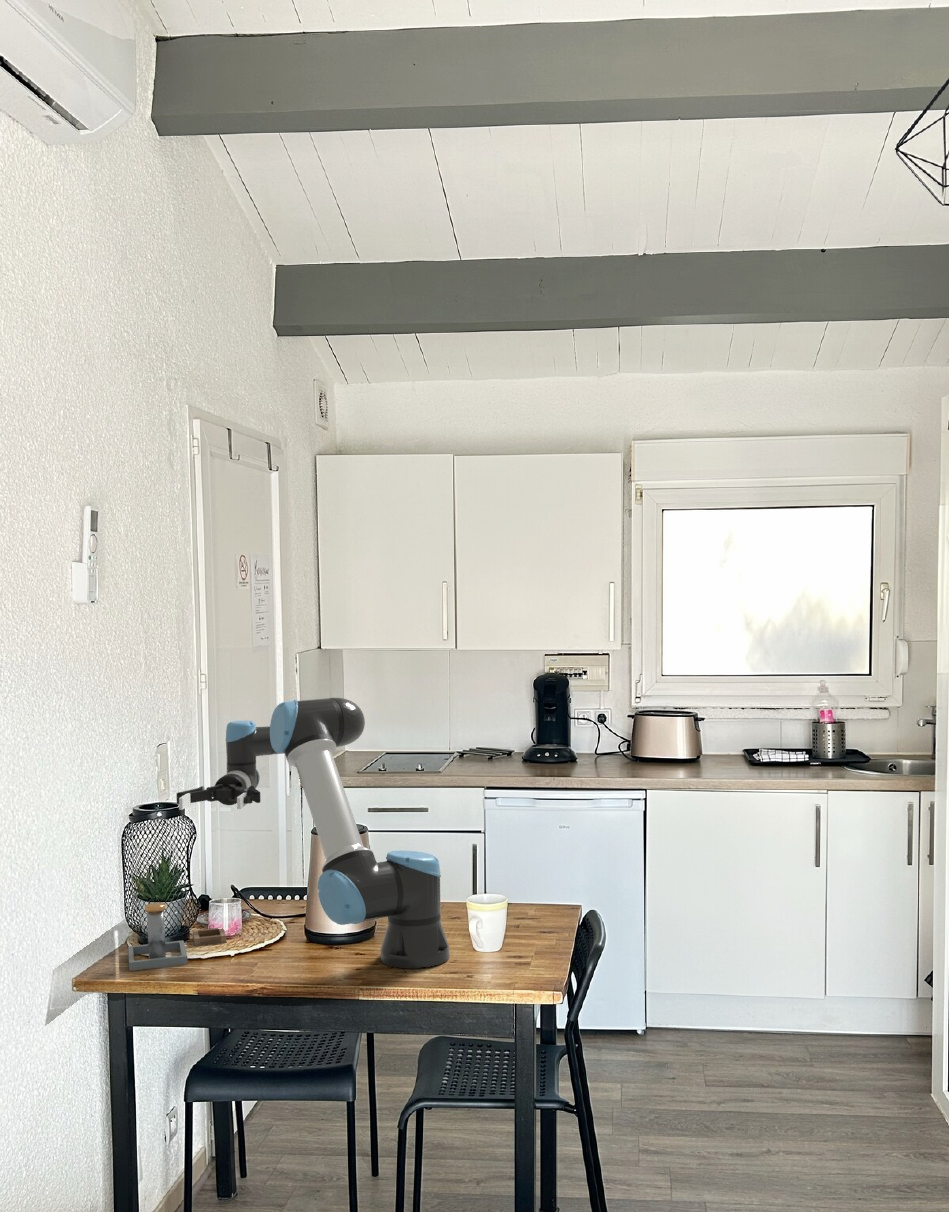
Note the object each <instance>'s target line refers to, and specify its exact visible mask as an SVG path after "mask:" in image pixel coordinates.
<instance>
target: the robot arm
mask: <svg viewBox="0 0 949 1212" xmlns="http://www.w3.org/2000/svg"><path fill="white" fill-rule="evenodd" d="M365 722H366V721H365V715H364V713H363V711H362V709H361V708H360V706H359V705H357V704H356V703H355V702H354V701H352V700H349V699H347V698H343V697H329V698H317V699H304V700H297V699H293V700H289V701H283V702H280V703H278V705H276V706H275V708H274V710H273V712H272V715H271V718H270V724H269V726H256V723H255V721H253V720H233V721H230V722H228V723H227V725H226V730H225V746H226V747H225V748H226V749H225V751H226V773H225V774H224V775H222V776H221V777H219V779H218V780H217V781H216V782H215V784H214V786H208V787H206V788H205V786H203V785H202V786H199V787H197V788H192V789H189V790H184V791H179V792H176V804H178V805H179V807H178V810H179V811H180V810H181V811H183V810H184V809H186V808H188V807H190V806H191V804H194V803H198V802H199V803H200V802H205V801H207V802H217V801H218V802H219V803H221V804H222V805H224V806H234V805H236V808H237V810H241V809H243V808H244V807H245V806H247V804H248V805H249V804H252V803H253V802H254V803H256V804H259V803H261V791H260V790H258V789H257V787H258V786H259V784H260V779H261V777H260V773H259V771H258V769H257V757H260V756H262V757H263V756H272V755H283V754H284V755H285V758H286V761H287V764H288V765H290V766H291V767H294V768H295V769H296V771H297V774H298V776H299V780H300V783H301V786H302V788H303V793H304V795H305V798H306V801H307V802H306V803H307V805H308V808H309V811H310V815H311V818H312V820H313V821H312V822H313V825H314V827H315V829H316V834H317V836H318V839H319V842H320V845H321V849H322V852H323V855H324V858H325V861H324V864H323V865H322V867H321V872H322V873H321V874H320V875H319V877H318V881H317V890H318V899H319V903H320V905H321V908H322V910H323V912H324V913H325V915H326V916H327V918H328V919H330V920H331V922H333V923H336V924H337V925H341V926H344V925H357V924H361V923H363V922H367V921H373V920H377V919H382V918H387V926H386V930H385V933H384V936H383V939H382V943H381V946H380V961H381V962H382V963H383V964H385V965H386V966H390V967H393V968H398V967H399V969H420V968H419V967H426V968H431V966H432V967H435V965H436V966H438V965H439V966H440V965H441V964H443V963H445V962H447V961H448V960H449V959H450V946H449V942H448V939H447V937H446V933H445V931H444V926H443V925H442V920H441V919H442V917H441V911H442V910H441V908H442V907H441V906H442V905H441V878H442V875H441V869H440V868H441V867H440V861H439V859H438V857H436V856H435V855H433V854H430V853H428V852H422V851H415V850H391V851H388V852H387V854H386V856H385V859H386V861H379V862H377V860H376V857H375V854H374V851H373V850H372V849H369V848H367V847H365V845H364V844H363V840H362V837H361V835H360V832H359V829H358V825H357V823H356V820H355V817H354V815H353V812H352V809H351V805H350V802H349V800H348V797H347V793H346V791H345V787H344V785H343V782H342V779H341V776H340V773H339V770H338V767H337V764H336V761H335V758H334V753H335V752H336V750H337V748H340V747H344V746H348V745H350V744H352V743H354V742H356V741H357V740H358V739H359V738H360V737H361V735H362V734H363V732H364V729H365V725H366V723H365Z"/></svg>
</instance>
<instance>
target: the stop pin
mask: <svg viewBox="0 0 949 1212" xmlns="http://www.w3.org/2000/svg"><path fill="white" fill-rule="evenodd" d="M166 907H167V905H166V903H165V902H160V901H159V902H158V901H157V902H150V903H147V904H145V905H144V912H145V913H146V920H147V921H146V922H147V944H148V950H149V953H148V959H155V958H163V957H167V955H166V954H167V953H166V952H167V951H166V948H165V942H166V930H165V929H166V928H165V910H166Z"/></svg>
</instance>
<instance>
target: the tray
mask: <svg viewBox="0 0 949 1212" xmlns="http://www.w3.org/2000/svg"><path fill="white" fill-rule="evenodd" d="M127 948H128V955H127V956H128V968H129V969H128V970H129V972H131V971H142V970H149V969H150V970H151V969H157V968H158V969H160V968H166V967H175V966H184V965H188V953H187V950H186V945H185V941H184V940H183V939H182V940H176V941H175V940H174V941H167V942H166V941H165V948H166V952H172V951H173V952H174V951H179V955H174V956H166V957H163V958H155V959H149V958H147V959H137V960H135V958H134V956H137V955H145V954H149V950H148V943H147V944H140V945H139V944H138V945H129V946H128V947H127Z"/></svg>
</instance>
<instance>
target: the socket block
mask: <svg viewBox="0 0 949 1212" xmlns="http://www.w3.org/2000/svg"><path fill="white" fill-rule="evenodd" d="M218 928H219V927H213V928H212V927H210V928H203V929H193V930H192V941H193V943H194V946H195V947H199V946H210V945H219V944H226V943H227V934H226V932H225V929H223V928H224V927H223V928H222V929H218Z"/></svg>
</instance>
